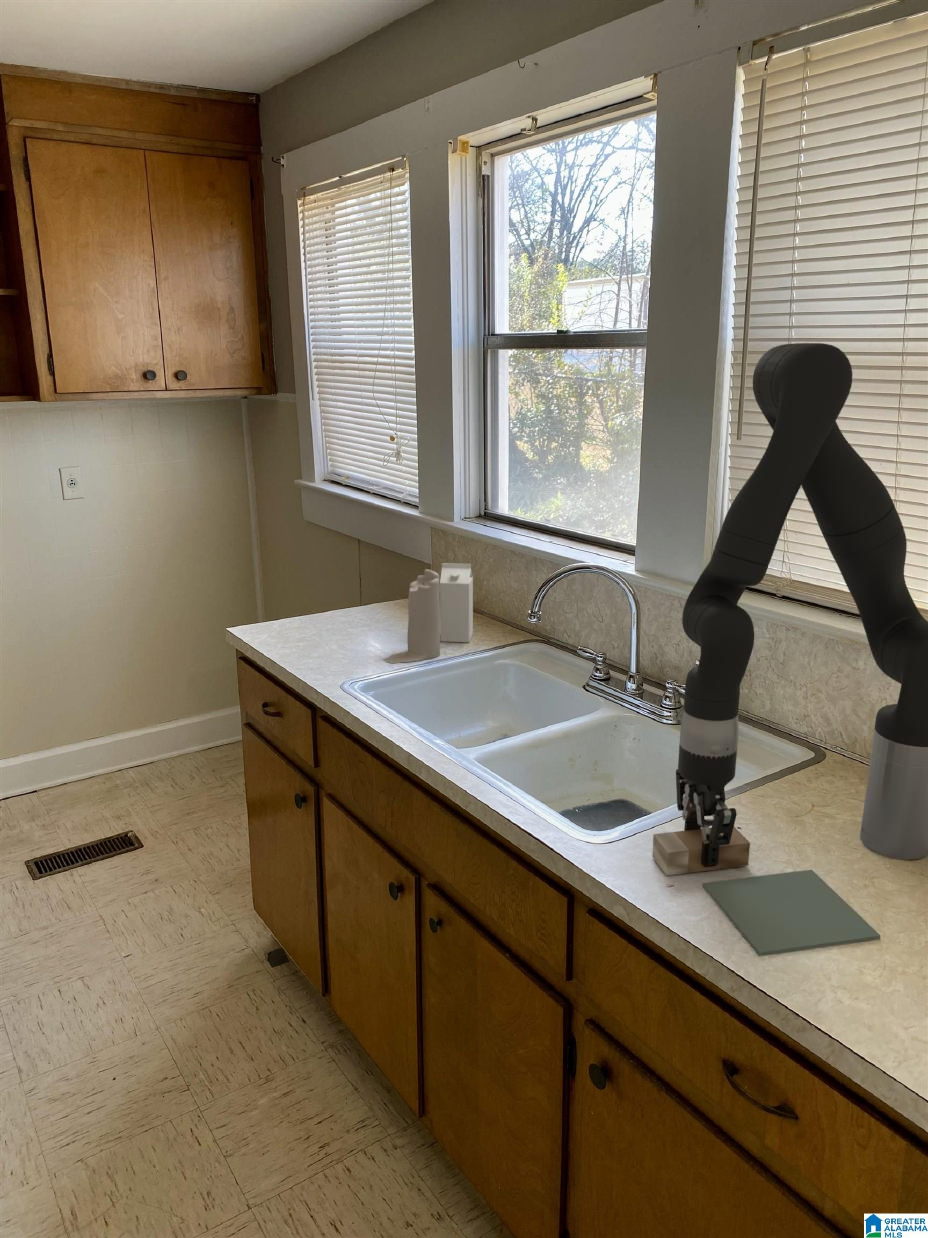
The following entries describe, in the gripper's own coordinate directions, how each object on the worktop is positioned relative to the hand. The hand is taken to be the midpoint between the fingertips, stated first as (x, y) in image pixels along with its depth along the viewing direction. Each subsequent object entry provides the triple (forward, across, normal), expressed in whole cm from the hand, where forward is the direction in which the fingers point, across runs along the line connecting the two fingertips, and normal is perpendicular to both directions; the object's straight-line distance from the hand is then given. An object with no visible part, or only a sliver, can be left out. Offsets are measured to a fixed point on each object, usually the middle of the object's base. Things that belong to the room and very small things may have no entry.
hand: (700, 854), depth 127 cm
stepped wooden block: (+1, 0, 0) cm, 1 cm away
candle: (+1, +97, +26) cm, 100 cm away
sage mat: (+1, -13, -6) cm, 14 cm away
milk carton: (+1, +109, +13) cm, 110 cm away
